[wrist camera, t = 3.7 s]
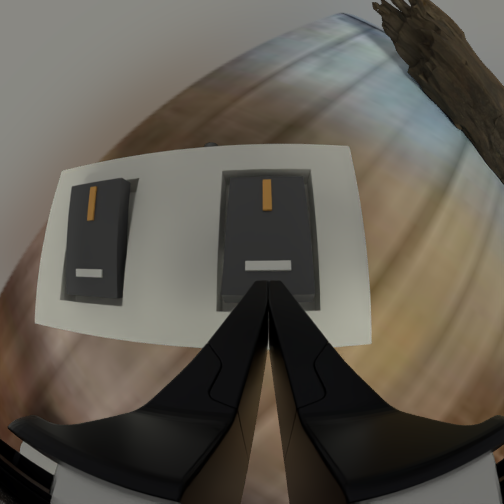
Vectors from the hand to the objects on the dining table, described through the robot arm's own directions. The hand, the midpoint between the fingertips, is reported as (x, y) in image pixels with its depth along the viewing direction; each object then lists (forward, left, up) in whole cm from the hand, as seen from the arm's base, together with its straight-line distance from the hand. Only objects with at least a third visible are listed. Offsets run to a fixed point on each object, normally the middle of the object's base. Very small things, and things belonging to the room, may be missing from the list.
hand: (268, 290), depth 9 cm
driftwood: (+30, -10, -10) cm, 33 cm away
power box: (0, +7, -9) cm, 12 cm away
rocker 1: (-5, +8, -2) cm, 10 cm away
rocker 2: (+2, +2, -2) cm, 4 cm away
